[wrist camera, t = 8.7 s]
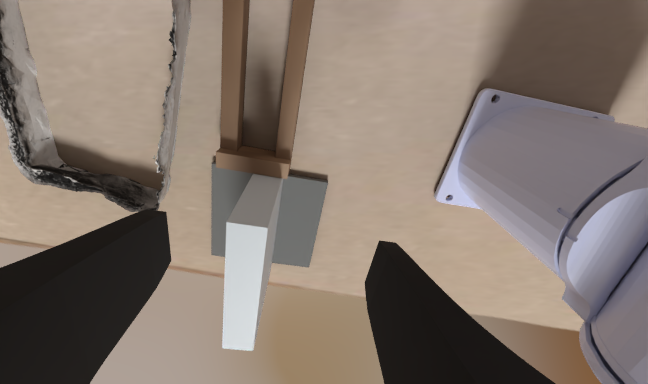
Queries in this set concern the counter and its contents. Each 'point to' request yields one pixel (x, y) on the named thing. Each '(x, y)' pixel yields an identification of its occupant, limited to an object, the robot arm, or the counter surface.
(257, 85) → the counter surface
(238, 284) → the board
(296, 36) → the rack
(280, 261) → the mat
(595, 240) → the robot arm
